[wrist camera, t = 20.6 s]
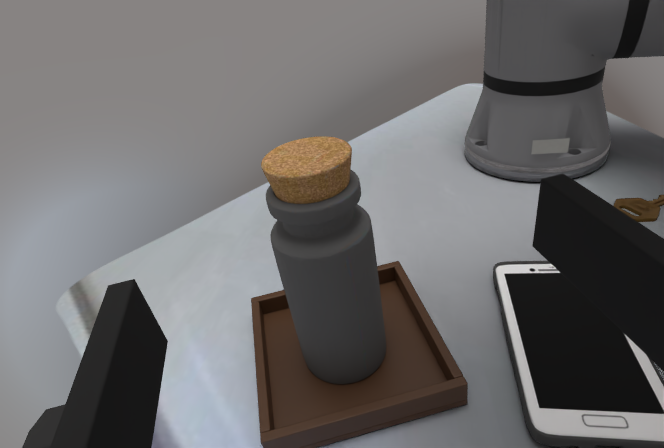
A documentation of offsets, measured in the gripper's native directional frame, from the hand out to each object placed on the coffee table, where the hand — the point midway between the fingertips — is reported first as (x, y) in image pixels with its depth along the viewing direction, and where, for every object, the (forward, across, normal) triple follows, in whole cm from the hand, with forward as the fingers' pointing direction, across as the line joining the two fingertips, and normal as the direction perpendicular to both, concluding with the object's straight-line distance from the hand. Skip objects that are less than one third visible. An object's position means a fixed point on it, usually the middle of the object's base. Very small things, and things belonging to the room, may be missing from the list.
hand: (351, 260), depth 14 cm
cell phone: (+6, +14, -16) cm, 22 cm away
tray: (+10, 0, -16) cm, 18 cm away
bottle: (+10, 0, -16) cm, 18 cm away
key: (+17, +31, -16) cm, 39 cm away
